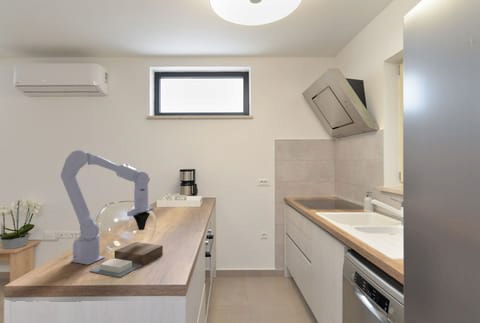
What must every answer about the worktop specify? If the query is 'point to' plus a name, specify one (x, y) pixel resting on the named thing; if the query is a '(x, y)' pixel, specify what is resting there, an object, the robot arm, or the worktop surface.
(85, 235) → the robot arm
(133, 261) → the brown flat wooden block
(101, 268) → the light grey flat block
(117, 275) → the mat
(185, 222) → the worktop surface
